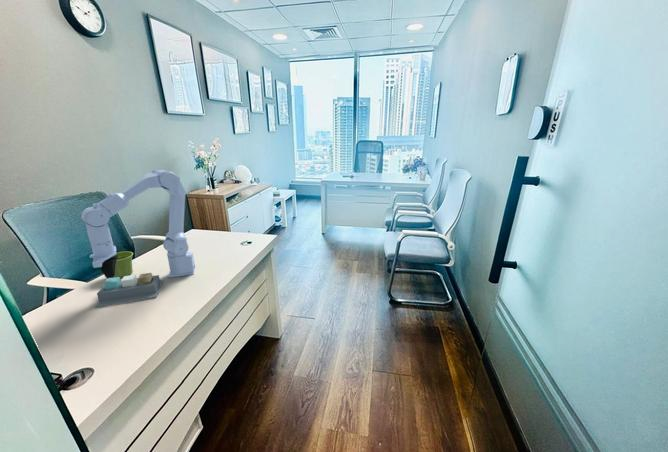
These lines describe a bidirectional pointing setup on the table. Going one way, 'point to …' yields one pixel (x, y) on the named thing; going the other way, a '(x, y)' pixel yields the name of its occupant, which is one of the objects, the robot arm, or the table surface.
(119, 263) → the plant pot
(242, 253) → the table surface
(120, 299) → the tray
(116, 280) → the teal key
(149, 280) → the oak key
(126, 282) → the ivory key
